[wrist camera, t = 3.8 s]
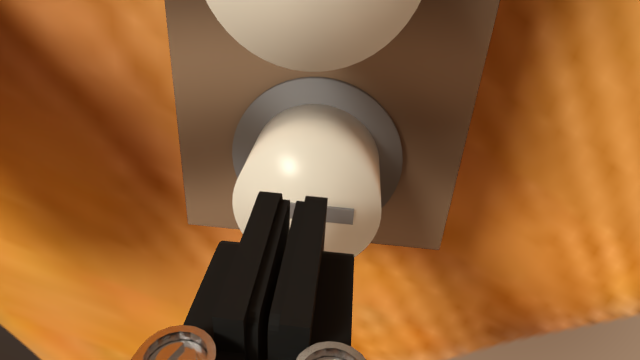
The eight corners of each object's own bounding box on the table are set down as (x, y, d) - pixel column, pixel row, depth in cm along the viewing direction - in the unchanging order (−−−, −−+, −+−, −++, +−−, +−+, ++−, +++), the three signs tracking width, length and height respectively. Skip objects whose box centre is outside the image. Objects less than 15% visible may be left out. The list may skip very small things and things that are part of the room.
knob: (253, 98, 15) (228, 137, 12) (387, 110, 15) (391, 152, 12) (254, 209, 17) (234, 263, 15) (371, 221, 17) (372, 277, 14)
